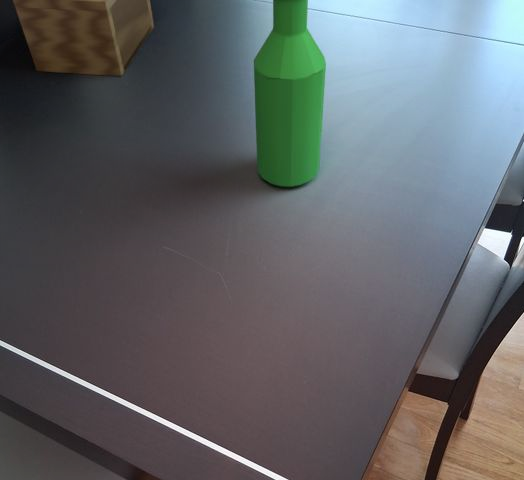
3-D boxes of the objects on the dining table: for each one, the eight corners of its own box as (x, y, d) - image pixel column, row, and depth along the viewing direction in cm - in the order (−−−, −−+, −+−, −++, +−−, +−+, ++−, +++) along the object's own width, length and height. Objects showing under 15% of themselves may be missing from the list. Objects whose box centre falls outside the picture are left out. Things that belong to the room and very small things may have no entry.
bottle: (253, 189, 79) (244, -12, 59) (261, 153, 84) (255, -42, 64) (317, 192, 78) (329, -10, 58) (320, 156, 83) (333, -41, 64)
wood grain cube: (36, 71, 102) (11, -3, 92) (77, 22, 114) (59, -47, 104) (121, 76, 100) (105, 1, 90) (154, 26, 112) (142, -44, 102)
